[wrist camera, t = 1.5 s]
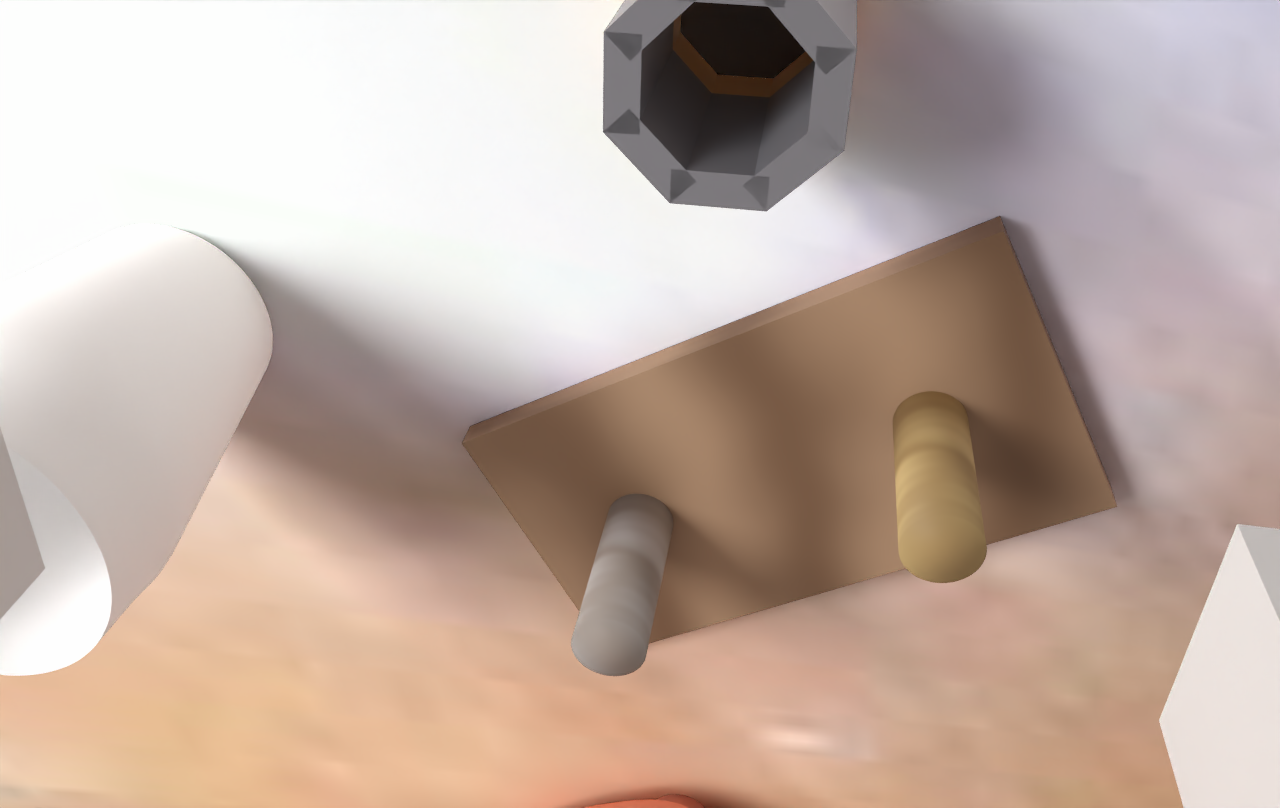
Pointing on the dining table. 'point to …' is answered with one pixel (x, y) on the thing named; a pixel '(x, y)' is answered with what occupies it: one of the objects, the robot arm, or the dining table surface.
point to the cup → (117, 419)
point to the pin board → (801, 451)
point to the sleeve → (727, 104)
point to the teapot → (655, 803)
